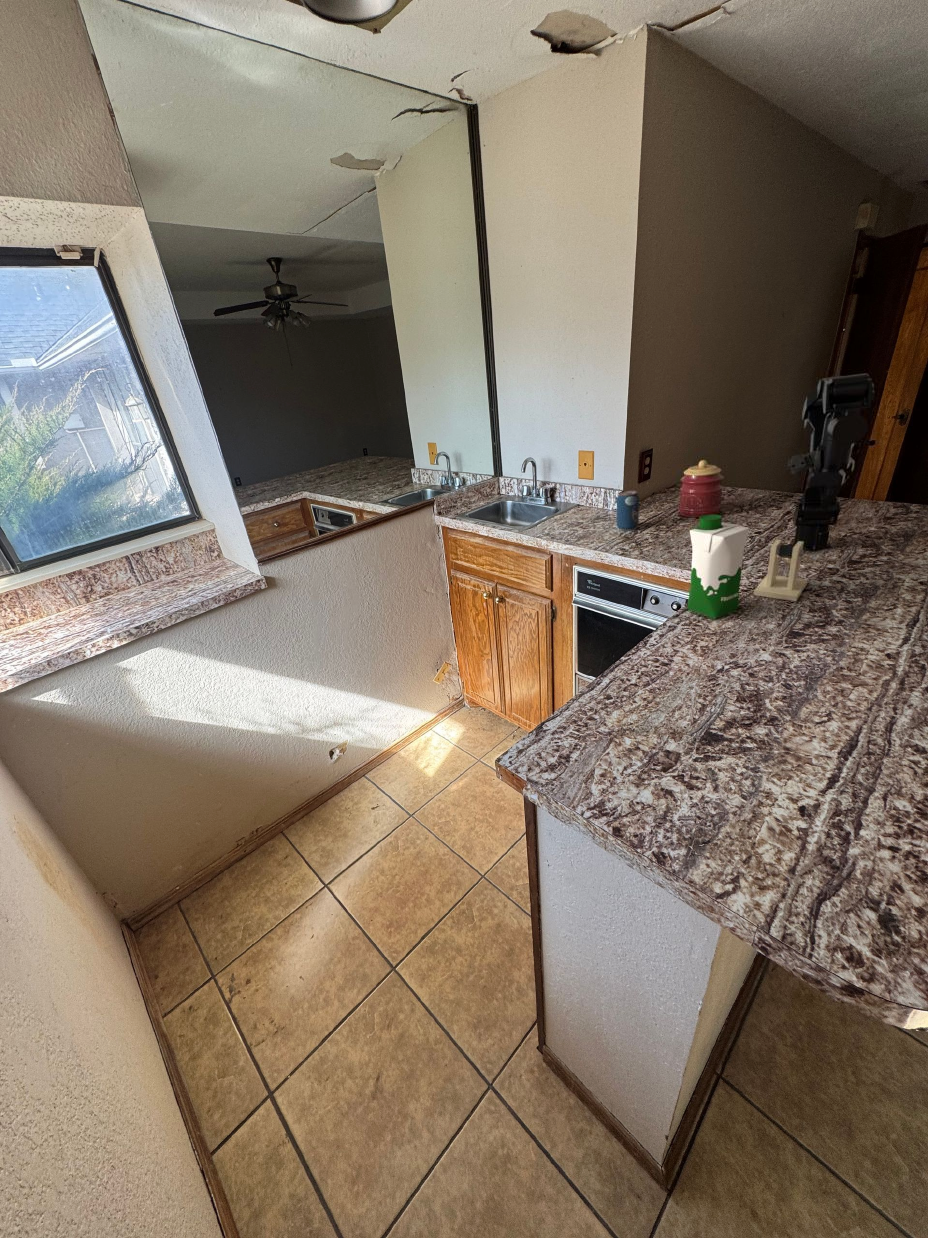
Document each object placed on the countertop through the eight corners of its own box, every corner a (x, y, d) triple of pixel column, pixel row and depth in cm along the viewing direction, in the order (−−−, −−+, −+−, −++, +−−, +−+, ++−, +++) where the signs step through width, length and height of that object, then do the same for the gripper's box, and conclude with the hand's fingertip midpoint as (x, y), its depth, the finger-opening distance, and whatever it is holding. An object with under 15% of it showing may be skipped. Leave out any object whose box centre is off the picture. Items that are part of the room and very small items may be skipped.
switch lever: (782, 565, 112) (786, 550, 112) (800, 567, 110) (804, 552, 109) (773, 557, 103) (777, 541, 103) (793, 559, 101) (797, 542, 100)
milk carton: (708, 597, 108) (715, 510, 100) (745, 609, 101) (757, 516, 92) (680, 609, 105) (685, 520, 97) (717, 622, 98) (726, 528, 89)
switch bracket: (766, 579, 112) (772, 534, 108) (806, 584, 107) (815, 538, 102) (753, 595, 106) (759, 549, 101) (796, 601, 101) (804, 553, 96)
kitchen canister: (727, 514, 159) (733, 460, 152) (687, 520, 160) (691, 465, 152) (710, 505, 171) (714, 454, 163) (673, 510, 172) (675, 460, 164)
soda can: (638, 530, 158) (638, 494, 153) (616, 531, 160) (616, 495, 155) (638, 524, 163) (639, 489, 158) (617, 525, 166) (617, 490, 161)
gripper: (802, 434, 116) (792, 498, 123) (784, 446, 104) (774, 517, 111) (861, 431, 109) (847, 500, 115) (849, 444, 97) (834, 520, 103)
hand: (824, 509), depth 111 cm, fingers closed
